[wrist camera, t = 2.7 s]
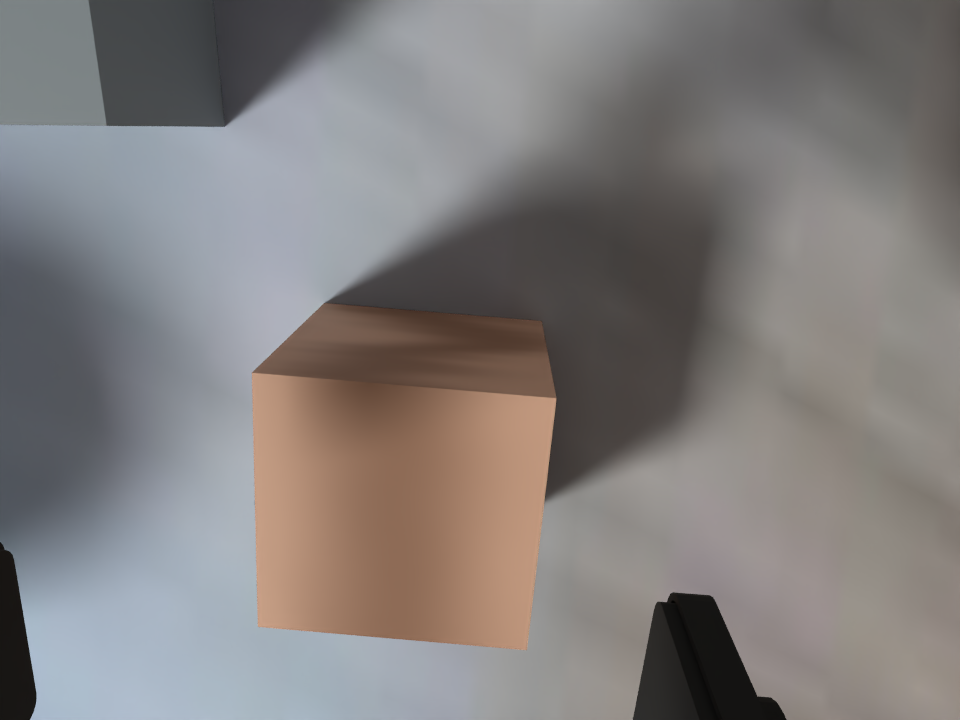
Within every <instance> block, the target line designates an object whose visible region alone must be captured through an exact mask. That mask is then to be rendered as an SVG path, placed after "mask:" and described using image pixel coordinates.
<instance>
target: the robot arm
mask: <svg viewBox="0 0 960 720" xmlns="http://www.w3.org/2000/svg"><path fill="white" fill-rule="evenodd" d="M35 705H36V688H35V682H34V676H33V670H32V664H31V658H30V653H29V647H28V641H27V635H26V629H25V623H24V617H23V611H22V605H21V599H20V593H19V587H18V581H17V575H16V569H15V563H14V558H13V555H12V554H11V553H10V552H9V551H6V550H4V547H3V545H2V543H1V542H0V720H30V718H31V716H32V714H33V712H34V708H35ZM633 720H786V718H785V716H784V713H783V712H782V710H781V708H780V707H779V705H778V703H777V702H776V701H774V700H773V699H772V698H769V697H757V695H756V692H755V690H754V688H753V685H752V683H751V681H750V679H749V676H748V674H747V672H746V670H745V667H744V665H743V663H742V661H741V658H740V656H739V654H738V652H737V649H736V647H735V645H734V643H733V640H732V638H731V636H730V633H729V631H728V629H727V627H726V624H725V622H724V620H723V618H722V615H721V613H720V611H719V609H718V606H717V604H716V602H715V600H714V599H713V597H711V596H710V595H697V594H685V593H671V594H670V596H669V598H668V601H667V602H657V603H656V605H655V609H654V613H653V618H652V623H651V629H650V634H649V639H648V644H647V649H646V655H645V660H644V665H643V670H642V675H641V681H640V686H639V691H638V696H637V701H636V707H635V712H634V717H633Z"/></svg>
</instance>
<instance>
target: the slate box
mask: <svg viewBox="0 0 960 720" xmlns="http://www.w3.org/2000/svg"><path fill="white" fill-rule="evenodd" d="M0 125H91V126H203V127H225V122H224V111H223V101H222V91H221V80H220V70H219V59H218V49H217V39H216V28H215V18H214V8H213V0H0Z"/></svg>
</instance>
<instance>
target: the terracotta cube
mask: <svg viewBox="0 0 960 720" xmlns="http://www.w3.org/2000/svg"><path fill="white" fill-rule="evenodd" d="M252 393H253V436H254V478H255V521H256V563H257V606H258V627H267V628H278V629H290V630H301V631H313V632H324V633H336V634H347V635H359V636H370V637H382V638H393V639H405V640H416V641H428V642H439V643H451V644H462V645H474V646H485V647H497V648H508V649H520V650H527V644H528V635H529V627H530V618H531V610H532V601H533V593H534V585H535V576H536V568H537V559H538V551H539V542H540V534H541V525H542V517H543V508H544V500H545V491H546V483H547V475H548V466H549V458H550V449H551V441H552V432H553V424H554V415H555V407H556V393H555V388H554V383H553V377H552V372H551V367H550V362H549V357H548V351H547V346H546V341H545V336H544V330H543V325H542V321H536V320H523V319H511V318H499V317H487V316H475V315H463V314H451V313H439V312H427V311H415V310H403V309H391V308H379V307H367V306H355V305H343V304H331V303H324V304H323V305H322V306H321V307H320V308H319V309H318V310H317V311H316V312H315V313H314V314H313V315H311V316H310V317H309V318H308V319H307V320H306V321H305V322H304V323H303V324H302V325H301V326H300V327H299V328H298V329H297V330H296V331H295V332H294V333H293V334H292V335H291V336H290V337H289V338H288V339H287V340H286V341H284V342H283V343H282V344H281V345H280V346H279V347H278V348H277V349H276V350H275V351H274V352H273V353H272V354H271V355H270V356H269V357H268V358H267V359H266V360H265V361H264V362H263V363H262V364H261V365H260V366H259V367H257V368H256V369H255V370H254V371H253V372H252Z"/></svg>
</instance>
